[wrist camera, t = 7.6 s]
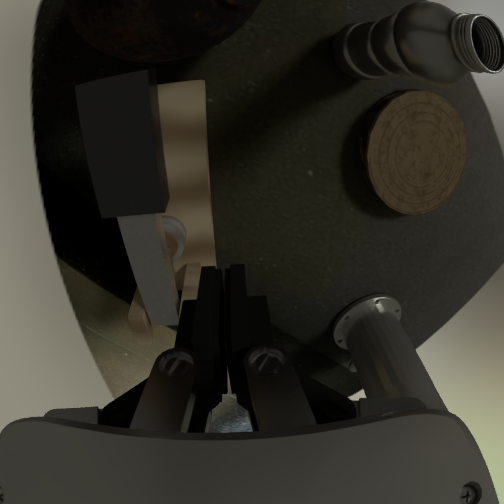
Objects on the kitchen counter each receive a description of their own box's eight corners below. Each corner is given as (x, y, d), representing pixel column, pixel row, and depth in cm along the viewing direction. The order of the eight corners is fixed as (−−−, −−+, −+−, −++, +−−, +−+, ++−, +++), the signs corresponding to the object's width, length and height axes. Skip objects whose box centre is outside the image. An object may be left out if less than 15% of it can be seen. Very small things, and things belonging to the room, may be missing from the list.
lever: (191, 304, 31) (189, 329, 28) (146, 305, 31) (141, 330, 28) (159, 67, 17) (147, 69, 14) (94, 80, 17) (74, 85, 14)
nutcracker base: (217, 274, 39) (216, 343, 29) (144, 277, 38) (124, 344, 28) (204, 80, 26) (192, 76, 16) (113, 93, 26) (58, 102, 16)
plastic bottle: (318, 66, 26) (439, 59, 9) (336, 16, 23) (458, -31, 6) (369, 89, 28) (506, 119, 11) (385, 41, 25) (523, 36, 8)
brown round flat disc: (339, 107, 29) (349, 110, 27) (441, 78, 27) (455, 80, 24) (373, 222, 37) (382, 233, 35) (459, 183, 35) (471, 191, 33)
